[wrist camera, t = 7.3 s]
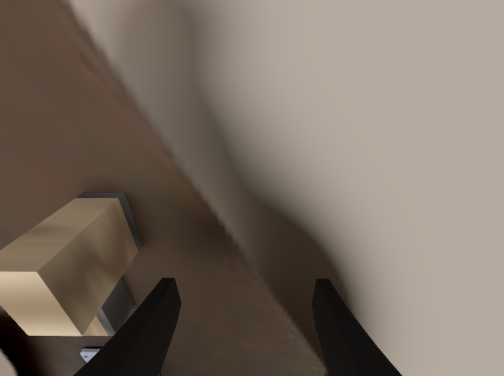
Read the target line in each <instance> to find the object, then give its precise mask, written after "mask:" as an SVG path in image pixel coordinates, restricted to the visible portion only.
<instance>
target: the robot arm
mask: <svg viewBox="0 0 504 376" xmlns="http://www.w3.org/2000/svg"><path fill="white" fill-rule="evenodd" d="M180 307H181V300H180V296H179V292H178V289H177V285H176V281H175V278H162V279H161V280H160V281H159V283H158V284H157V285H156V286H155V288H154V289H153V290H152V291H151V293H150V294H149V295H148V296H147V298H146V299H145V300H144V301H143V302H142V304H141V305H140V306H139V307H138V308H137V310H136V311H135V312H134V313H133V314H132V315H131V317H130V318H129V319H128V320H127V321H126V322H125V323H124V325H123V326H122V327H121V328H120V329H119V330H118V331H117V332H116V333H115V334H114V335H113V337H112V338H111V339H110V340H109V341H108V342H107V343H106V344H105V345H104V346H103V347H102V348H101V349H82V351H81V352H80V354H81V356H82V357H83V358H84V360H85V361H86V362H87V363H86V364H85V365H84V366H83V367H82V368H81V369H80V370H79V371H78V372H77V373H76V374H75V375H73V376H159V373H160V371H161V368H162V365H163V362H164V359H165V356H166V353H167V351H168V348H169V345H170V342H171V339H172V336H173V333H174V330H175V328H176V324H177V320H178V316H179V312H180ZM312 308H313V315H314V320H315V325H316V330H317V334H318V337H319V341H320V344H321V348H322V352H323V355H324V359H325V363H326V366H327V370H328V374H329V376H402V375H401V374H400V373H399V371H398V370H397V369H396V368H395V367H394V366H393V365H392V363H391V362H390V361H389V360H388V359H387V358H386V356H385V355H384V354H383V353H382V351H381V350H380V349H379V348H378V347H377V345H376V344H375V343H374V342H373V340H372V339H371V338H370V337H369V335H368V334H367V333H366V331H365V330H364V329H363V327H362V326H361V325H360V323H359V322H358V321H357V319H356V318H355V316H354V315H353V314H352V312H351V311H350V310H349V308H348V307H347V305H346V304H345V302H344V301H343V299H342V298H341V296H340V295H339V293H338V292H337V290H336V289H335V287H334V285H333V284H332V282H331V280H329V279H316V284H315V290H314V295H313V300H312Z"/></svg>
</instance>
